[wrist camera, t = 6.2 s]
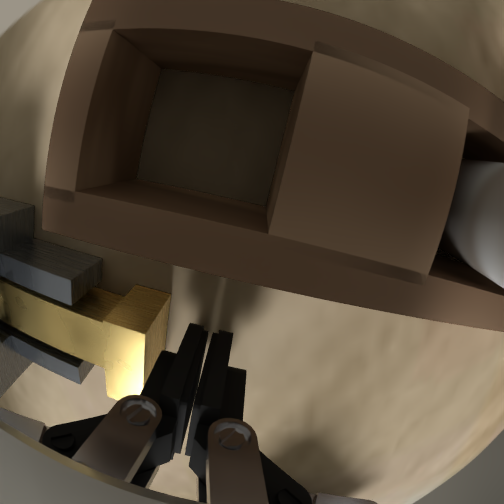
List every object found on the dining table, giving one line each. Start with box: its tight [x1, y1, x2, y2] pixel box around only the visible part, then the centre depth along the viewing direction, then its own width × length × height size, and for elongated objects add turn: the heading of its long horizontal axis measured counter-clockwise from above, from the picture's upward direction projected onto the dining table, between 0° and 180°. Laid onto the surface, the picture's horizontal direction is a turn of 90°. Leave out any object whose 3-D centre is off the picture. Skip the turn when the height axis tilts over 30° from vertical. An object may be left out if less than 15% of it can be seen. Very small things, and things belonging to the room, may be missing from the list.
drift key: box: [0, 276, 171, 400], centre depth 10 cm, size 4×8×3 cm, turn 77°
